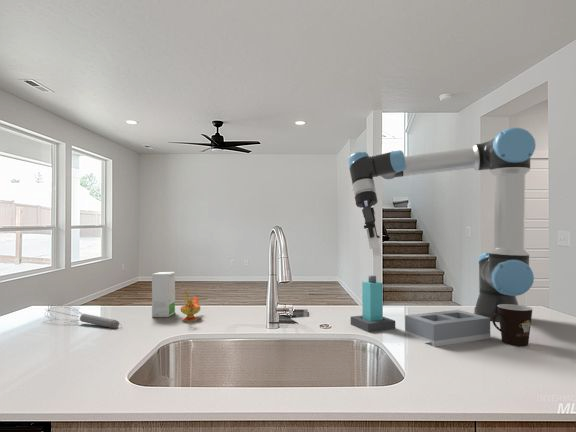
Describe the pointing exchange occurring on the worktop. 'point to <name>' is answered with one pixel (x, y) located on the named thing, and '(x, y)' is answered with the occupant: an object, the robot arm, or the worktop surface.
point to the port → (448, 327)
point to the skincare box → (163, 294)
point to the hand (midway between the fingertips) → (375, 252)
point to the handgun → (296, 314)
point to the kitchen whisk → (91, 319)
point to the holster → (372, 324)
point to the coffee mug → (514, 324)
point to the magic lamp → (190, 307)
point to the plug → (372, 299)
